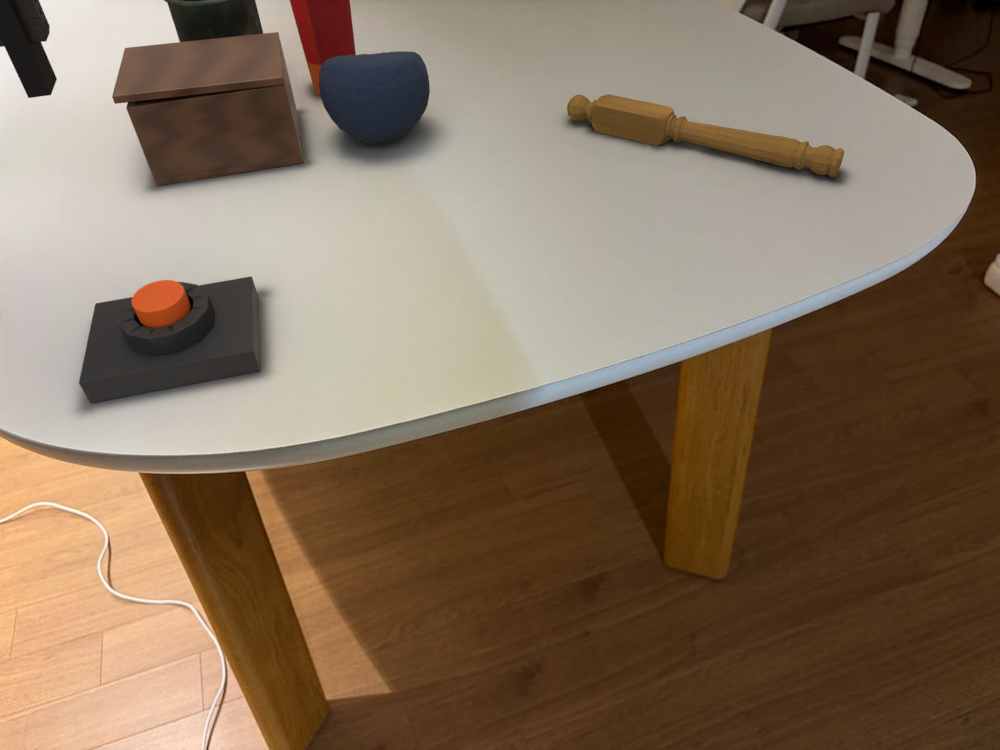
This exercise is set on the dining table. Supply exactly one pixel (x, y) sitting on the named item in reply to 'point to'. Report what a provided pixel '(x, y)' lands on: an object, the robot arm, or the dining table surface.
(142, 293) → the button
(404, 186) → the dining table surface
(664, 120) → the wooden table leg
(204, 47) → the box lid
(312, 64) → the red tall block
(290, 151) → the box
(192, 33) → the mug
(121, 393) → the switch block
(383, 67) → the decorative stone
